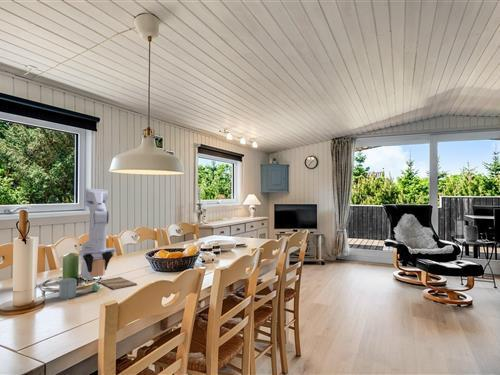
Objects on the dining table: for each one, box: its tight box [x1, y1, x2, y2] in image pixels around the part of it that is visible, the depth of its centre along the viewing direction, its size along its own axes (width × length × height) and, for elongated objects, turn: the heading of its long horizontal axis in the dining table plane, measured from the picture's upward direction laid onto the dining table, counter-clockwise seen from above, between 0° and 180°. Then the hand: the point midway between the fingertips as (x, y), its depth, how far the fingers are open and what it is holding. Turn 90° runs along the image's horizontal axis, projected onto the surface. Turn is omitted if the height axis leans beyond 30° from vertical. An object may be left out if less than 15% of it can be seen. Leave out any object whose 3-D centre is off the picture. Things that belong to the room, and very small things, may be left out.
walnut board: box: [99, 276, 138, 291], centre depth 146 cm, size 16×11×1 cm
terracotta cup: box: [89, 258, 106, 277], centre depth 135 cm, size 6×6×7 cm
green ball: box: [91, 283, 101, 292], centre depth 134 cm, size 3×3×3 cm
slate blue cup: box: [58, 277, 78, 300], centre depth 126 cm, size 6×6×7 cm
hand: (97, 270), depth 134 cm, fingers closed on terracotta cup, 6 cm apart
